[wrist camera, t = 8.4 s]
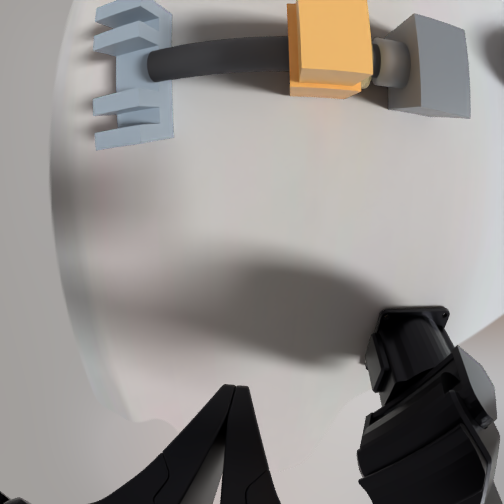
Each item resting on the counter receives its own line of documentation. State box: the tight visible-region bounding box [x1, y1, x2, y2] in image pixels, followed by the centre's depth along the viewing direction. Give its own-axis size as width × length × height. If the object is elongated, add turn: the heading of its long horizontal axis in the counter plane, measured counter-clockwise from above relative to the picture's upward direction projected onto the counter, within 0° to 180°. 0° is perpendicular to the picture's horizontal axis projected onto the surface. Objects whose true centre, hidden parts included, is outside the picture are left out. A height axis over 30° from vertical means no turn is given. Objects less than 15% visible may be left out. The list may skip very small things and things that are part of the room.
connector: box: [371, 13, 471, 119], centre depth 11 cm, size 4×5×5 cm
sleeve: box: [287, 0, 373, 99], centre depth 10 cm, size 3×4×8 cm
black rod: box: [147, 36, 381, 82], centre depth 12 cm, size 14×2×2 cm, turn 91°
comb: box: [93, 0, 174, 150], centre depth 14 cm, size 3×9×4 cm, turn 1°
